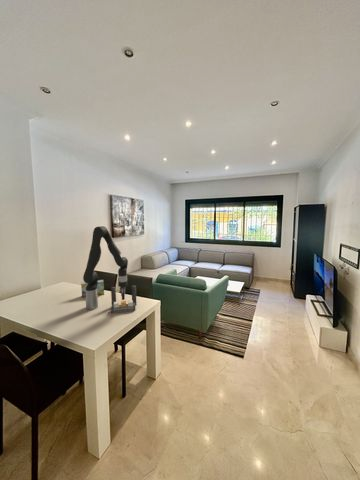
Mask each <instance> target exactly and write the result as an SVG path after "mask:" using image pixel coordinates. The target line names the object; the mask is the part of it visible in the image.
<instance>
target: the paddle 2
mask: <svg viewBox="0 0 360 480" xmlns="http://www.w3.org/2000/svg"><path fill="white" fill-rule="evenodd" d="M127 302H128V303H127V304H128V306H133V300H132V299H131V300H128V301H127Z"/></svg>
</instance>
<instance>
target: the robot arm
mask: <svg viewBox="0 0 360 480" xmlns="http://www.w3.org/2000/svg"><path fill="white" fill-rule="evenodd" d="M102 238H103V239H104V240H105V242H106V244H107V245H106V246H107V248H108V251H109V253H110V254H111V255H112V256H113V260H114V262H115V264H116V265H117V267H119V268H118V270H117V274H118V275H117V276H118V277H117V283H118V284H117V285H118V287H119V289H120V294H121V300H122V301H125V300H126V299H125V296H126V295H125V294H126V287H127V286H128V272H127V269H128V266H129V265H128V264H129V261H128V258H127V257H126V256H123V257H122V256H121V254H122V253H121V250H120V249H119V248H118V247H117V245H116V243H115V241H114V240H113V237H112V236H111V234H110V231H109V230H108V228H107V227H106V226H96V227H95V228H94V229H93V231H92V239H91V245H90V250H89V253H88V259H87V263H86V267H85V271H84V273H83V276H82V281H83V282H85V283H88V284H87V286H86V297H85V309H86V310H91V311H92V310H96V309H97V308H98V307H99V301H98V296H97V285H98V280H99V275H98V273H97V272H96V271H95V269H96V266H97V265H98V263H99V261H100V260H101V256H102V247H101V241H102Z"/></svg>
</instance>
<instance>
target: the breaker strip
mask: <svg viewBox="0 0 360 480" xmlns="http://www.w3.org/2000/svg"><path fill="white" fill-rule="evenodd" d="M110 311H111V314H115V313H126V312H135V311H136V305H135V302H134V303H133V306H128V303H126V307H121V304H119V307H117V308H114V305H112V304H111V307H110Z"/></svg>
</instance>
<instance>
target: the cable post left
mask: <svg viewBox="0 0 360 480" xmlns="http://www.w3.org/2000/svg"><path fill="white" fill-rule="evenodd" d="M110 295H111V306H112V305H114V302H117V289H116V287H115V286H111V287H110Z"/></svg>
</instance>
